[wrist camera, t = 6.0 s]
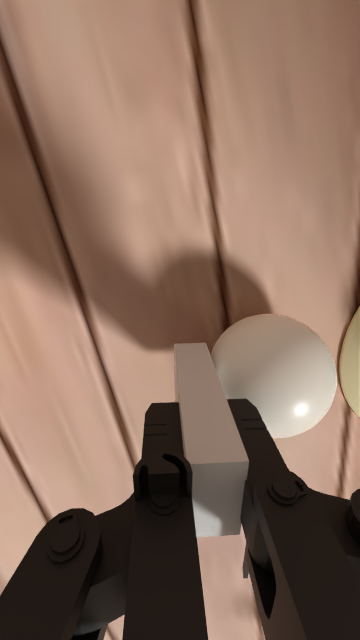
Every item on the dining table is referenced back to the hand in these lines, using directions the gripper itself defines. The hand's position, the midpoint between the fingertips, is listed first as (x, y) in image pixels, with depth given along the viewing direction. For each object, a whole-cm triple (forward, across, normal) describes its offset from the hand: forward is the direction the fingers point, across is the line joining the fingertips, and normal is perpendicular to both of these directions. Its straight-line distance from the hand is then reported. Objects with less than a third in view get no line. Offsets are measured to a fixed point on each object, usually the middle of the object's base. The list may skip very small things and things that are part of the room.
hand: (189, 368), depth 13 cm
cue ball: (-1, -4, 0) cm, 4 cm away
